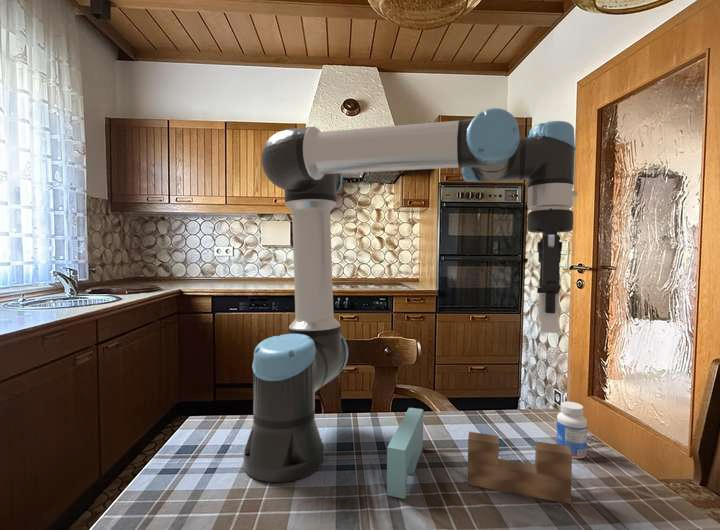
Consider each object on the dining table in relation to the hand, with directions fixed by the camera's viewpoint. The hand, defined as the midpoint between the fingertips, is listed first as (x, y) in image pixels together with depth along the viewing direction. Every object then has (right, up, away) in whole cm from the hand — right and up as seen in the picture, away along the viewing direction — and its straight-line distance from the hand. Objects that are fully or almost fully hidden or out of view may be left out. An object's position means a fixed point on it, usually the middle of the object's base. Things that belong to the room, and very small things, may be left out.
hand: (547, 326), depth 71 cm
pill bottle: (+8, -27, +7) cm, 29 cm away
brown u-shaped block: (-8, -27, -5) cm, 29 cm away
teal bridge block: (-26, -27, +1) cm, 37 cm away
